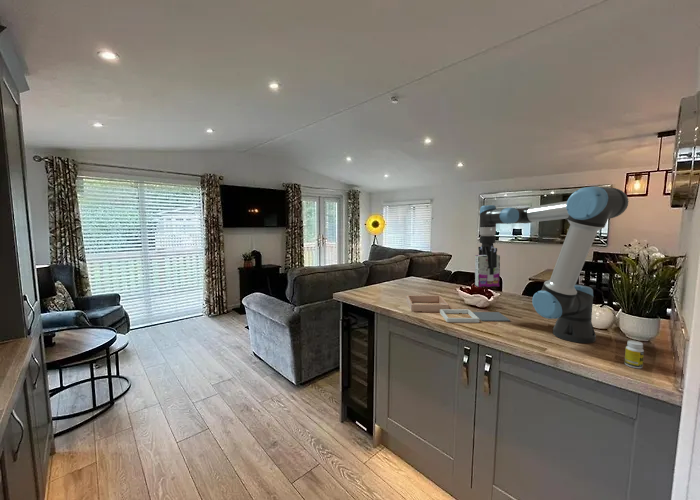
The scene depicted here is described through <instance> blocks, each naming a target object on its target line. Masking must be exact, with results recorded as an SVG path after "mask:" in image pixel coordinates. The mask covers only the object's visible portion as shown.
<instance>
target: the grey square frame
mask: <svg viewBox="0 0 700 500" xmlns="http://www.w3.org/2000/svg"><path fill="white" fill-rule="evenodd" d="M473 312H474V311H472V310H470V309H465V308H464V309H462V308H461V309H450V308H449V309H440V312H439V314H440V315H441V317H443V319H444V321H445V322H447V323H480V319H479V318H478V317H477V316H476V315H475V314H474V313H473ZM459 313H462V314H463V315H464V314H467V315H469V316H470V317H448V314H459Z"/></svg>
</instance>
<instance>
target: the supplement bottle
mask: <svg viewBox="0 0 700 500" xmlns="http://www.w3.org/2000/svg"><path fill="white" fill-rule="evenodd" d="M624 350H625V351H624V353H625V354H624V365H626V366H627V367H630V368H634V369H638V370H639V369H643V368H644V367H643V366H644V356H645V350H644V343H643V342H641V341H637V340H629V339H628V340H627V344H626V346H625V349H624Z"/></svg>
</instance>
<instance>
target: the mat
mask: <svg viewBox="0 0 700 500" xmlns="http://www.w3.org/2000/svg"><path fill="white" fill-rule="evenodd" d="M472 312H473V313H474V314H475V315H476V316H477V317H478V318H479V321H481V322H511V319H509V318H508V317H507V316H505V315H504V314H502V313H501V312H499V311H472Z"/></svg>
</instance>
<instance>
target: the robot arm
mask: <svg viewBox="0 0 700 500" xmlns="http://www.w3.org/2000/svg"><path fill="white" fill-rule="evenodd" d="M629 201H630V200H629V197H628V195H627V194H626V193H625V192H624V191H623V190H621V189H619V188H617V187H605V186H603V187H602V186H587V187H581V188H579V189H577V190H575V191H574V192H572V193H571V195H570V196H569V197H568V199H567V200H566V201H559V202H554V203H553V202H552V203H548V204H541V205H534V206H530V207H521V208H519V207H518V208H517V207H504V208H503V207H502V208H497V206H496V205H495V204H488V205H486V204H485V205H482V206H480V208H479V235H480V236H479V243H480V244H481V246H478V255H487V256H488V266H489V267H488V279H487V281H493V274H494V268H496V267H497V255H498V253H497V252H498V248H497V247H495V246H494V244H495V243H496V239H497V238H496V233H497V232H496V230H497V229H496V227H497V226H496V225H497V224H498V225H499V224H500V225H501V224H502V225H504V224H505V225H511V224H531V223H537V222H544V221H545V222H546V221H556V220H557V221H558V220H564V219H565V220H567V222H568V223H569V227H568V230H567V233H566V236H565V239H564V241H563V243H562V247H561V249H560V252H559V255H558V258H557V260H556V263H555V266H554V267H553V270H552V273H551V276H550V279H548V280H545V281H544V282H543V285H542V288H541V290H538V291H537V292H535V293H534V294H533V296H532V301H531V302H532V307H533V308H534V310H535V312H536V313H537V314H538V315H539V316H540V317H542V318H544V319H548V320H549V319H550V320H553V319H556V321H555V324H554V326H553V328H552V334H553V336H555V337H556V338H559V339H561V340H563V341H564V340H565V341H568V342H574V343H578V344H579V343H580V344H590V343H595V342H596V339H597V335H596V331H595V329H594V328H595V327H594V325H593V323H592V319H593V318H592V317H593V304H594V289H593V288H592V287H590V286H586V285H582V284H577V282H578V280H579V278H580V274H581V272H582V269H583V267H584V266H585V263H586V260H587V257H588V256H589V255H588V254H590V253H589V252H590V250H591V248H592V245H593V243H594V240H595V239H596V236H597V233H598V231H600V230H602V229H604V228H605V227H606V224H607V222H608V220H609V219H614V218H616V217H619V216H621V215H622V214H623V213H624V212H626V211H627V208H628V206H629Z"/></svg>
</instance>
